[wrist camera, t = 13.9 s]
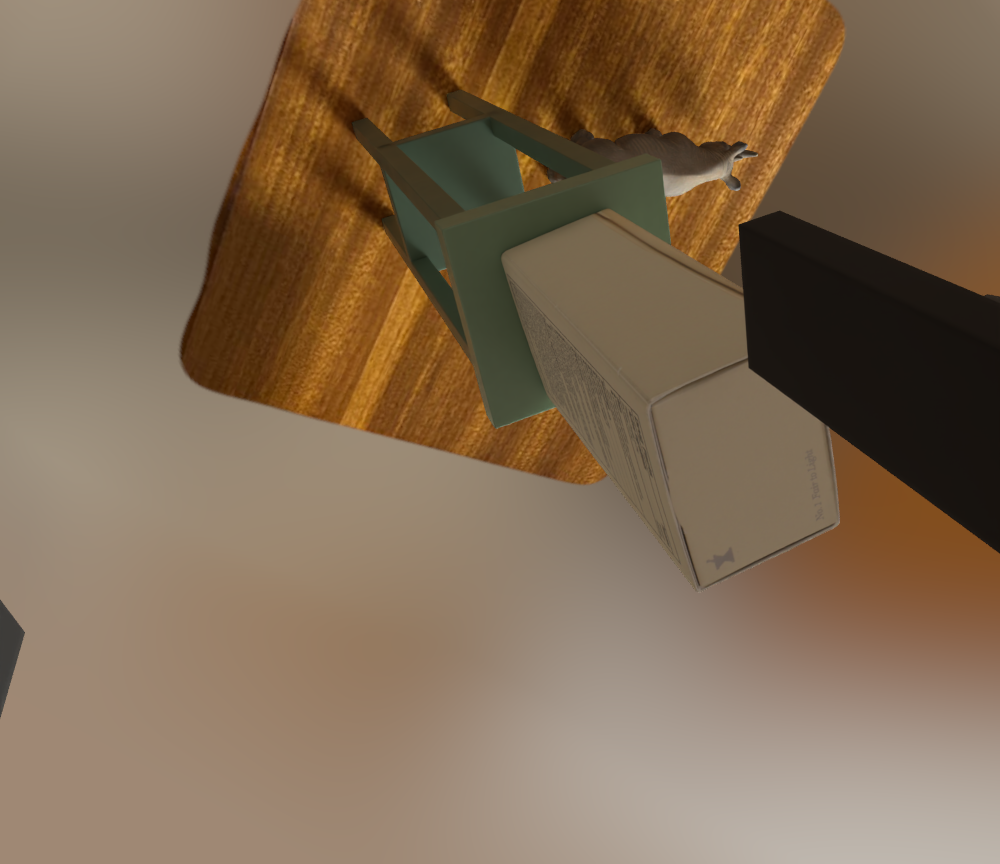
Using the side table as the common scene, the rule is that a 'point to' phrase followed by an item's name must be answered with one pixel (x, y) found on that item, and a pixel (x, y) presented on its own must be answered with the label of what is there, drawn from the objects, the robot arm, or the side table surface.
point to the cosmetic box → (672, 395)
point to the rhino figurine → (670, 157)
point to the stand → (459, 181)
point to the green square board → (483, 283)
